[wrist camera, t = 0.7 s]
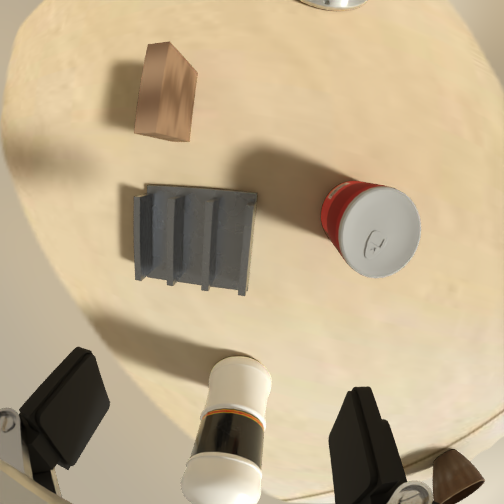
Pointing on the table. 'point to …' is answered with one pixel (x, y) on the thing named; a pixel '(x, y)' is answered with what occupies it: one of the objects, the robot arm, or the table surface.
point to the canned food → (371, 227)
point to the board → (166, 94)
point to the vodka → (230, 436)
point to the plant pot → (454, 478)
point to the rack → (194, 236)
